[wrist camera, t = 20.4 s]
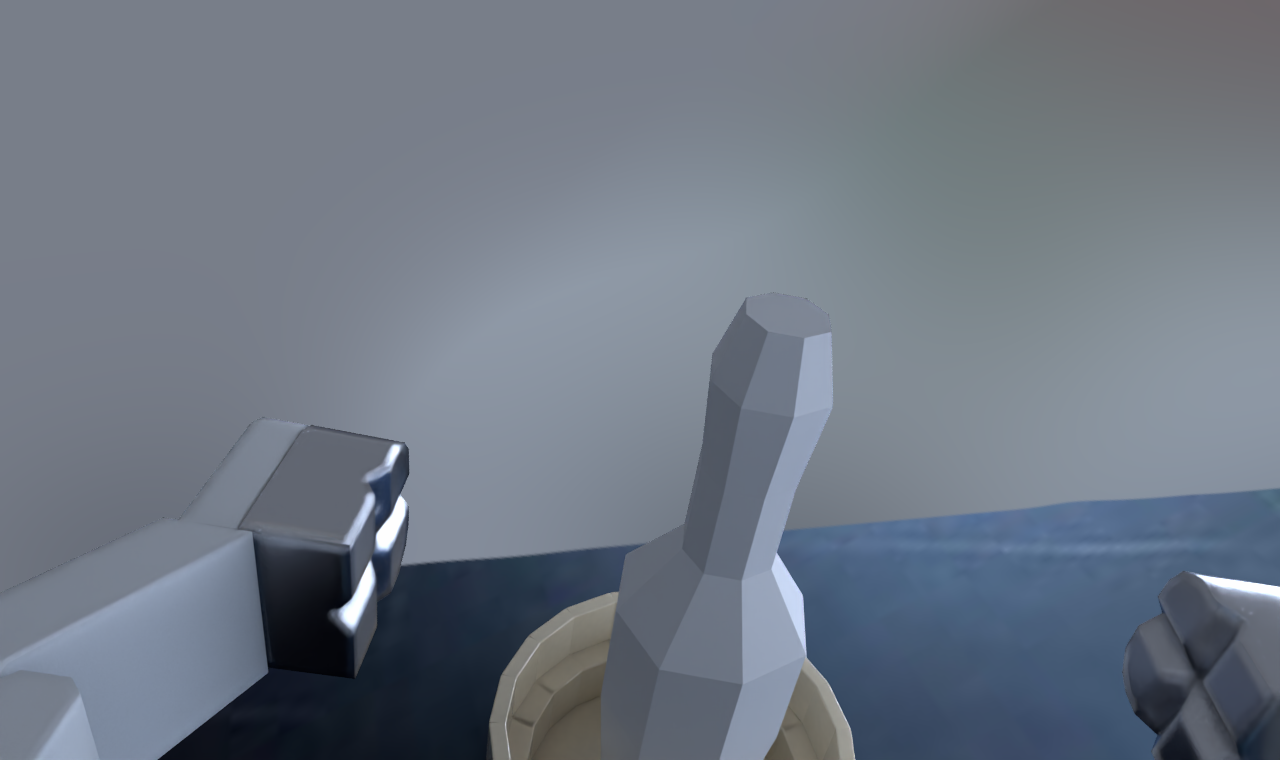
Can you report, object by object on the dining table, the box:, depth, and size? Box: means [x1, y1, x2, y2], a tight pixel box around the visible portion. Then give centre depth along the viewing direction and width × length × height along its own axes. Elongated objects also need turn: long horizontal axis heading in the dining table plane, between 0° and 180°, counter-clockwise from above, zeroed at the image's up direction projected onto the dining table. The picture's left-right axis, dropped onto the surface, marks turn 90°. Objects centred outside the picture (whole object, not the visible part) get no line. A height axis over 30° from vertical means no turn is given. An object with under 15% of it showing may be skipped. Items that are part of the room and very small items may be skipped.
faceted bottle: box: [601, 293, 833, 760], centre depth 29 cm, size 6×6×22 cm
